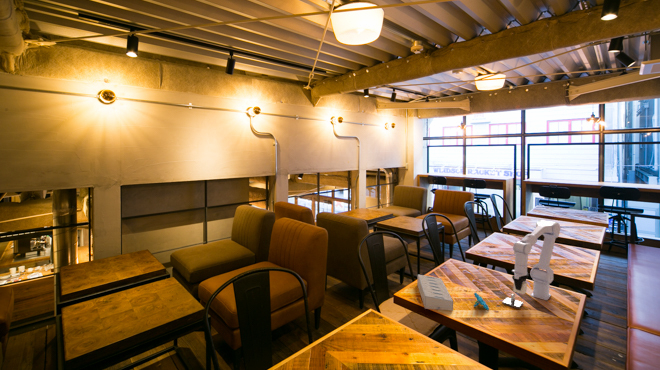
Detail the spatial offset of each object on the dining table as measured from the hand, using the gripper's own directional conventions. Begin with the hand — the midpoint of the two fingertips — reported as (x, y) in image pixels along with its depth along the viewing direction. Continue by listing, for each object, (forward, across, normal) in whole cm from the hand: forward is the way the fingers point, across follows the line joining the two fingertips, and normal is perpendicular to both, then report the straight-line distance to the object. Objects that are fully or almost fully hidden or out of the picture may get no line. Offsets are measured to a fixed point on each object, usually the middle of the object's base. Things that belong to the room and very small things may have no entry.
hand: (519, 288), depth 163 cm
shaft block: (+9, +2, -2) cm, 10 cm away
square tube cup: (+2, 0, 0) cm, 2 cm away
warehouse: (+10, +26, -37) cm, 46 cm away
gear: (+10, +19, -13) cm, 25 cm away
